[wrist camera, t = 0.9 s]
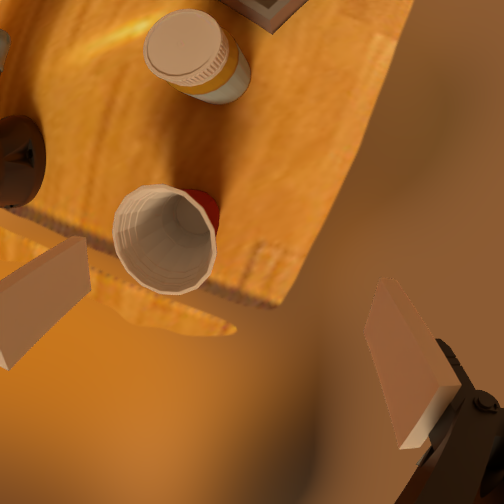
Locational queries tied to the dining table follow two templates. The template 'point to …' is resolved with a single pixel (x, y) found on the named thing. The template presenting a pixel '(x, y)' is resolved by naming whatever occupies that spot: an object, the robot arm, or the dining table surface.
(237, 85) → the bottle
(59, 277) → the robot arm
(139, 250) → the plastic cup
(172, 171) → the dining table surface
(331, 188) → the dining table surface
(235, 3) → the crate
